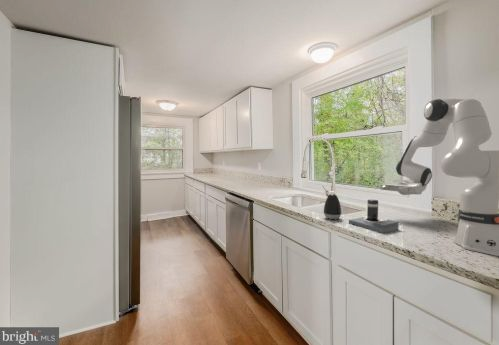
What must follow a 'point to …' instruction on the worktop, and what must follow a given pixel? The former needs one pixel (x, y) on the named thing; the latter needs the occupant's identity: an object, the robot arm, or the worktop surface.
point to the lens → (372, 210)
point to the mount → (376, 224)
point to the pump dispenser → (332, 207)
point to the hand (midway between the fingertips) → (391, 188)
